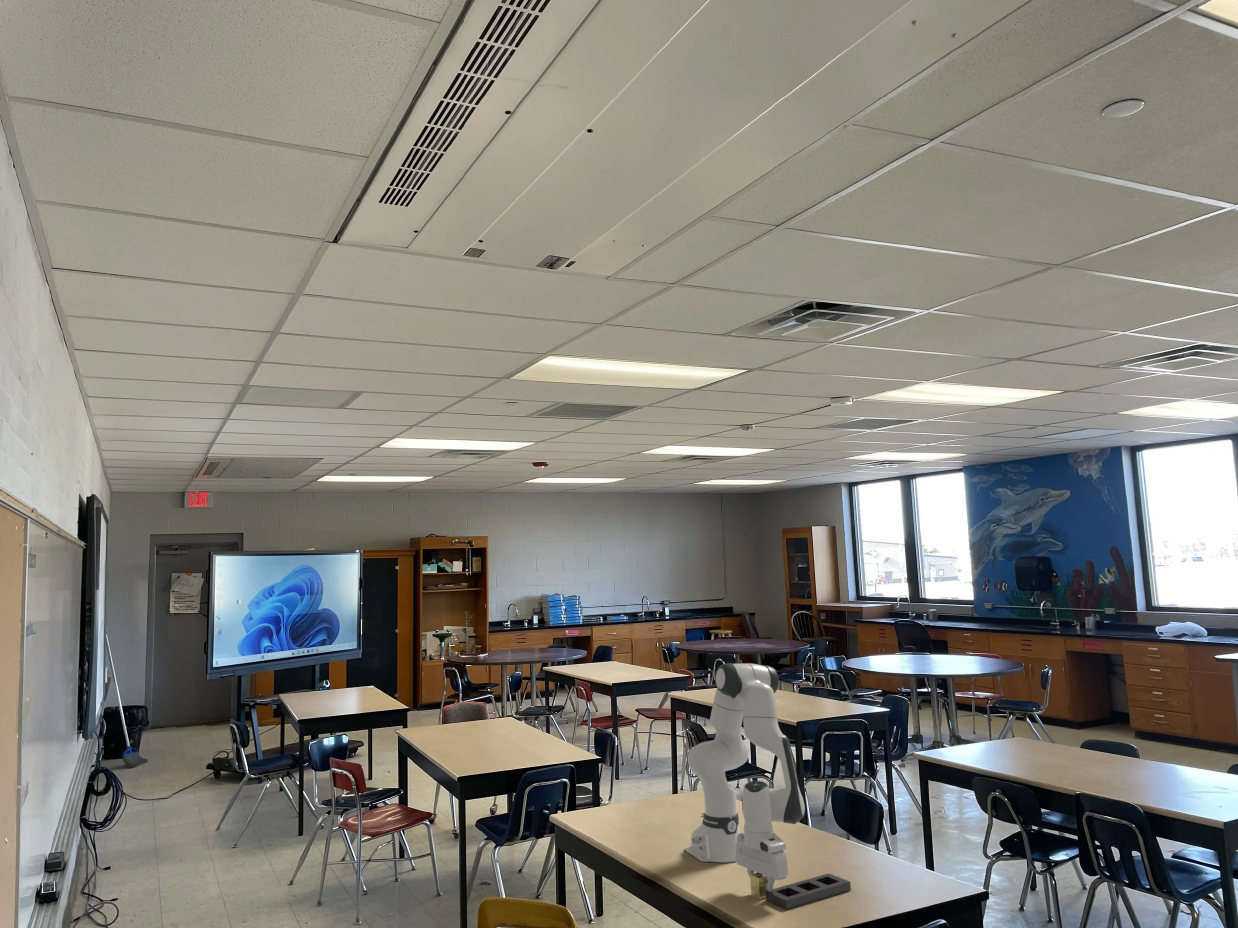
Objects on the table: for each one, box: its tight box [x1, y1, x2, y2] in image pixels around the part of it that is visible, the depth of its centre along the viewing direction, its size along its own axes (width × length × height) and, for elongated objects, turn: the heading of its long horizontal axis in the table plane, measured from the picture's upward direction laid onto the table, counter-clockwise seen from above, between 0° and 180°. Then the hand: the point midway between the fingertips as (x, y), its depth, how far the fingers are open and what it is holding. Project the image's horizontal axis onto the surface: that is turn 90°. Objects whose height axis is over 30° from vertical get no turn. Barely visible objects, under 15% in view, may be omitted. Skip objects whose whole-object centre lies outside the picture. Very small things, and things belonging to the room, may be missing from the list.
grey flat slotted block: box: [765, 873, 852, 911], centre depth 248 cm, size 9×26×2 cm, turn 121°
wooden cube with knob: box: [749, 872, 768, 900], centre depth 248 cm, size 4×4×6 cm
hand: (761, 887), depth 248 cm, fingers open, 5 cm apart
